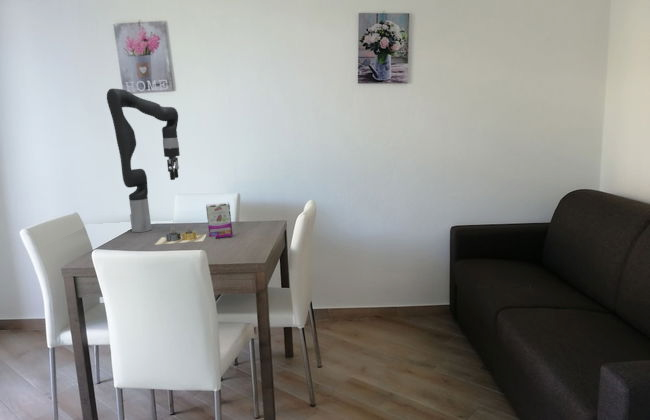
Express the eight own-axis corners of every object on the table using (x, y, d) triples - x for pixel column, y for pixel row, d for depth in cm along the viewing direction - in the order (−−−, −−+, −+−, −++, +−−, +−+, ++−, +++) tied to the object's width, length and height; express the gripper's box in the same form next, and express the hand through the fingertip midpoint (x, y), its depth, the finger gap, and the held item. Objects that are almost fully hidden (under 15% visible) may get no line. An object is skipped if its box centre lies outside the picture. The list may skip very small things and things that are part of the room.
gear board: (154, 247, 215) (152, 232, 214) (161, 239, 229) (160, 225, 227) (203, 243, 217) (201, 228, 216) (207, 236, 231) (205, 222, 230)
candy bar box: (232, 234, 233) (229, 202, 229) (232, 236, 228) (229, 203, 225) (209, 237, 230) (205, 204, 227) (209, 239, 225) (206, 205, 222)
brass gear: (181, 240, 220) (180, 234, 219) (183, 237, 226) (183, 231, 225) (195, 239, 220) (194, 233, 220) (197, 236, 227) (196, 230, 226)
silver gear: (165, 241, 219) (164, 235, 218) (168, 238, 225) (167, 232, 225) (179, 240, 220) (178, 234, 219) (181, 237, 226) (181, 231, 225)
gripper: (166, 146, 243) (170, 177, 246) (160, 148, 229) (163, 180, 232) (181, 146, 244) (184, 176, 247) (175, 147, 230) (179, 180, 233)
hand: (174, 178), depth 240 cm, fingers open, 8 cm apart
